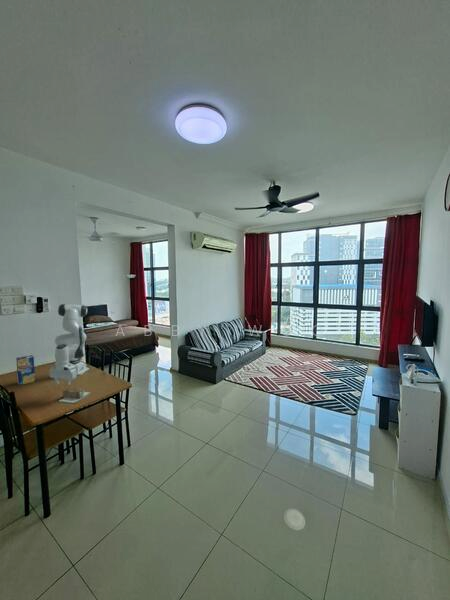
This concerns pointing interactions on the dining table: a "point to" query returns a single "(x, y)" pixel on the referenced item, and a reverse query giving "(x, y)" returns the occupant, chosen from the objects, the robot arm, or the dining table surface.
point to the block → (73, 393)
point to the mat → (73, 400)
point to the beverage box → (25, 369)
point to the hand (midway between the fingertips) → (63, 383)
